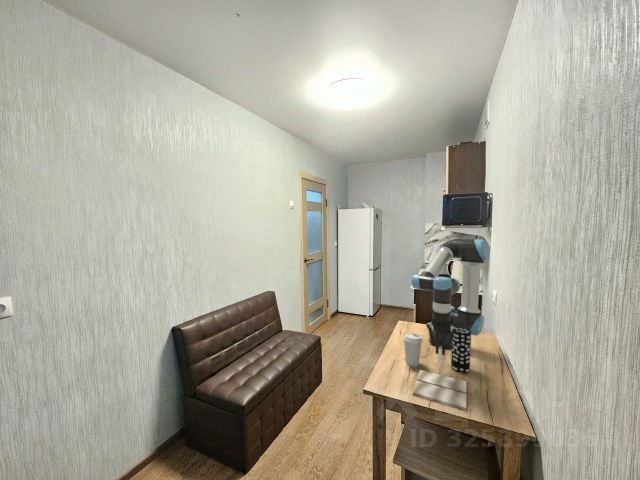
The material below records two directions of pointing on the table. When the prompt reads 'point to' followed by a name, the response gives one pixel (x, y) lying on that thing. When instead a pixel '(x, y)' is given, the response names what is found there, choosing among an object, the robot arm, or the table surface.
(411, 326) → the table surface
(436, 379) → the plank
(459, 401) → the laid board
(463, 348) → the spotted tube
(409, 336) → the coffee cup
